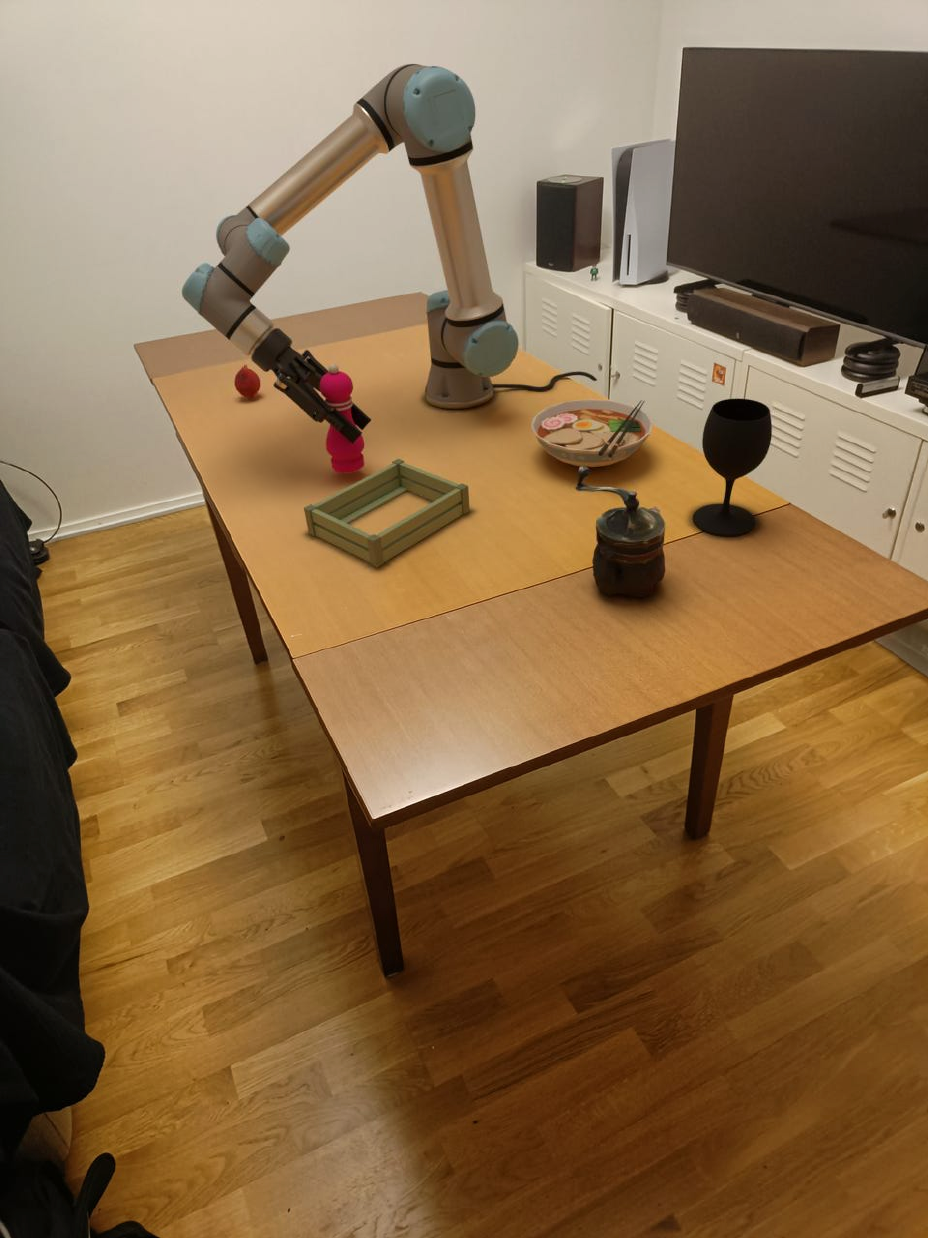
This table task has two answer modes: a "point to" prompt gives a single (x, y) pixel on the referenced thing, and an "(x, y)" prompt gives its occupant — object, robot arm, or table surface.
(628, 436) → the ramen bowl
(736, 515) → the wine glass
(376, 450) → the table surface
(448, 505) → the crate
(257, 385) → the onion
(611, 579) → the coffee grinder
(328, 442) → the pepper mill
